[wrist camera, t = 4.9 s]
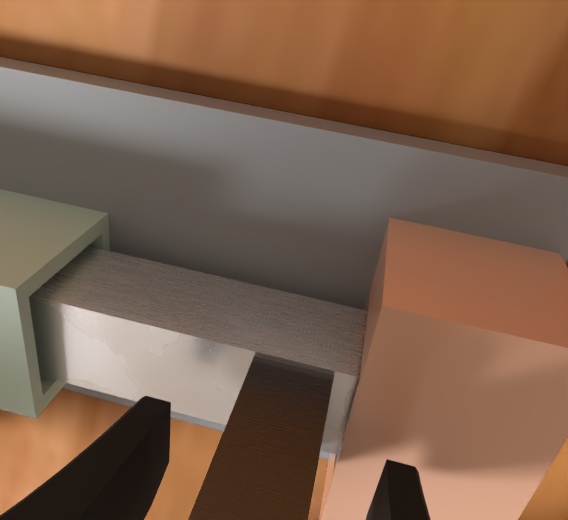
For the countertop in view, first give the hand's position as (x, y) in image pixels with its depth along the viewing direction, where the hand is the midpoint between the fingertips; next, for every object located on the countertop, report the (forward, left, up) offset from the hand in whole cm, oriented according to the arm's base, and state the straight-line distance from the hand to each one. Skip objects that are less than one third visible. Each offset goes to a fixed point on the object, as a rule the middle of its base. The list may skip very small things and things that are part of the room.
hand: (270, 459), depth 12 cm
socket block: (+4, 0, -5) cm, 7 cm away
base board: (-5, 0, -6) cm, 8 cm away
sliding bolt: (-3, 0, -5) cm, 6 cm away
